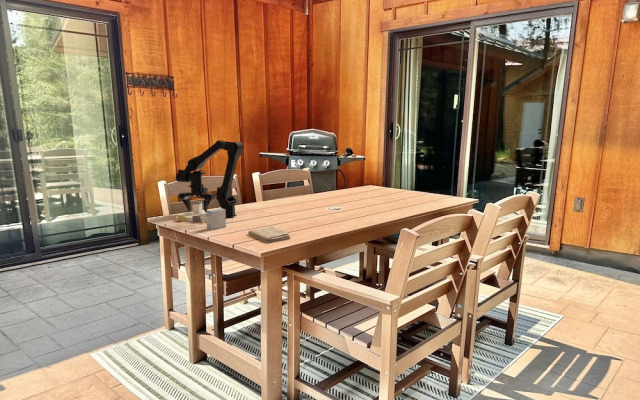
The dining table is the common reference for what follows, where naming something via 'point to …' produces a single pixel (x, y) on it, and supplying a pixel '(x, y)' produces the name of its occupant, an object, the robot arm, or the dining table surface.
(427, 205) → the dining table surface
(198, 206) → the plug
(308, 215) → the dining table surface
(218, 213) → the medicine box
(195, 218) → the socket block
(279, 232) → the washcloth
